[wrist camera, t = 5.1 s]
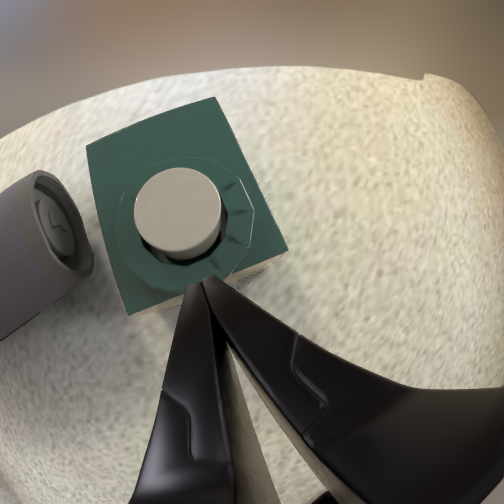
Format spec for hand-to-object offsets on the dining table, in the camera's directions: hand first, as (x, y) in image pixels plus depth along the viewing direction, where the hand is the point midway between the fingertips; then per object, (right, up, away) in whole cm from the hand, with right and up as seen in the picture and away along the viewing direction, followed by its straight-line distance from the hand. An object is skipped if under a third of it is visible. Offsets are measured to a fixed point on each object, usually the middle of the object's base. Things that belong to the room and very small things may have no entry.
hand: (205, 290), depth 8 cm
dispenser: (-4, +3, +14) cm, 14 cm away
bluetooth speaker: (-22, -3, +11) cm, 24 cm away
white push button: (-2, +2, +5) cm, 6 cm away
